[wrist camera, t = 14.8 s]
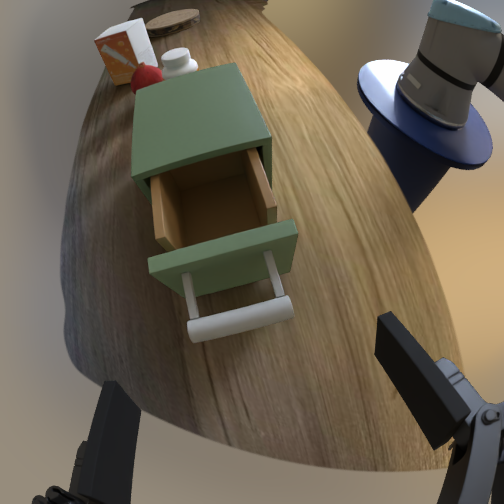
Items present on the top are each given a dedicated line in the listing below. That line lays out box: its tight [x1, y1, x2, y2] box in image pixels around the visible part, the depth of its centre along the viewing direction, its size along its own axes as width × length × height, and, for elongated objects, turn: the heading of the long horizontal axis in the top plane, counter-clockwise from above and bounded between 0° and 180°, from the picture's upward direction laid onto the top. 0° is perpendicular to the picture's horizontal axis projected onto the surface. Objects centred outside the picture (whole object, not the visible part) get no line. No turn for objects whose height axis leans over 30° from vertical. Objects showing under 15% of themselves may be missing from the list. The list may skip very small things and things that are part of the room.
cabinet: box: [131, 63, 272, 205], centre depth 27 cm, size 14×12×11 cm
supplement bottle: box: [161, 48, 199, 81], centre depth 33 cm, size 5×5×10 cm
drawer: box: [148, 147, 298, 343], centre depth 23 cm, size 18×10×9 cm, turn 15°
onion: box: [131, 62, 164, 95], centre depth 36 cm, size 6×6×8 cm
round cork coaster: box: [145, 9, 200, 37], centre depth 53 cm, size 16×16×3 cm
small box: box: [94, 18, 158, 86], centre depth 38 cm, size 8×6×13 cm
